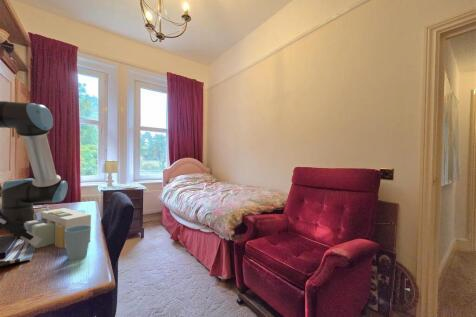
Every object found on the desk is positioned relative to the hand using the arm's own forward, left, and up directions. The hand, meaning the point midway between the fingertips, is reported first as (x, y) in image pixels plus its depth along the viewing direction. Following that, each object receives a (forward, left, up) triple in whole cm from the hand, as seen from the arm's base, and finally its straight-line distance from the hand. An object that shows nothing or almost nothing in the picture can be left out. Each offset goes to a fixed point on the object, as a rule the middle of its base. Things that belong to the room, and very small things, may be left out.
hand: (38, 242), depth 81 cm
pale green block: (-9, -3, -4) cm, 10 cm away
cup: (+4, +16, -5) cm, 17 cm away
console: (-14, 0, -4) cm, 14 cm away
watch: (-26, -16, -5) cm, 31 cm away
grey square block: (-13, -9, -4) cm, 17 cm away
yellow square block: (-9, +6, -4) cm, 11 cm away
